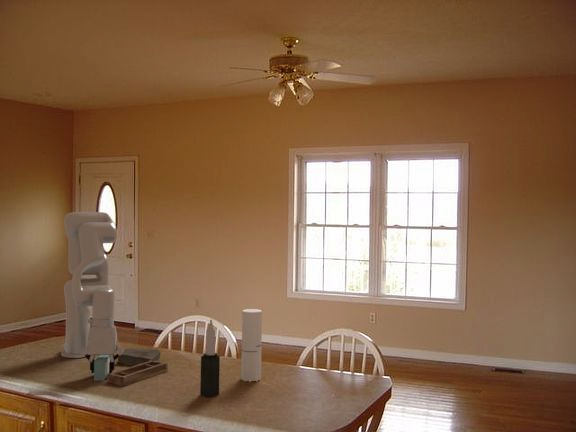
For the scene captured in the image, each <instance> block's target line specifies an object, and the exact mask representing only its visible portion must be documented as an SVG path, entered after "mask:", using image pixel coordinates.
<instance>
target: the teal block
mask: <svg viewBox="0 0 576 432" xmlns="http://www.w3.org/2000/svg"><path fill="white" fill-rule="evenodd" d="M109 362H110V357H109V355H98V356H97V358H96V359H95V361H94V373H93V381H96V382H97V381H98V382H99V381H105V379H107V374H108V373H109Z"/></svg>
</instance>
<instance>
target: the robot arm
mask: <svg viewBox="0 0 576 432" xmlns="http://www.w3.org/2000/svg"><path fill="white" fill-rule="evenodd" d="M63 228H64V232H65V236H66V238H67V243H68V251H67V253H68V254H67V256H68V257H67V258H68V262H67V267H68V272H69V273H70V275H72V278H71V279H69V280H68V281H66V282H65V284H64V286H63V294H64V300H65V342H63V343H62V344H61V345H60V347H61V348H63V351H61V354H60V356H61V357H62V358H67V359H80V358H86V359H87V360H88V362H89V371H90V373H91V374H94V361H95V360H96V359H95V357H96V356H100V355H109V357H110V362H109V373H113V371H114V370H115V361H116V360H118V357H119V356H120V355H121V354H122V353H123V352H124V350H125V349H124V348H123V347H122V346H121V345H120V344H119V343H118V334H117V333H118V331H117V326H116V325H115V321H114V320H115V291H114V289H112V288H111V286H109V267H110V266H109V258H108V256H107V254H106V253H105V248H104V244H113V243H115V242H116V241H117V239H118V229H117V226H116V224H115V221H114V220H113V219H112V217H111V216H110V215H109V214H108V213H107V212H105V211H104V212H102V211H74V212H73V211H72V212H69V213H67V214H66V215H65V216H64V219H63ZM82 276H95V277H85V278H84V277H83V278H82ZM89 307H92V309H91V311H92V312H91V311H90V308H89ZM91 313H92V315H91ZM91 316H92V318H91ZM116 352H117V353H116Z"/></svg>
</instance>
